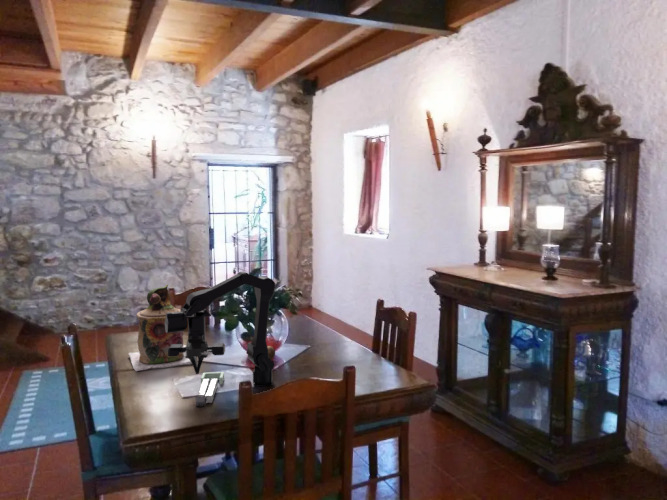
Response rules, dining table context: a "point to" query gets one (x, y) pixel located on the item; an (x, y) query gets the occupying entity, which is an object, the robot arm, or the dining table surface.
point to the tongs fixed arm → (211, 390)
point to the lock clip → (213, 376)
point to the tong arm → (202, 393)
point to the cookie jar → (156, 334)
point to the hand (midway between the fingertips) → (197, 373)
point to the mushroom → (271, 352)
